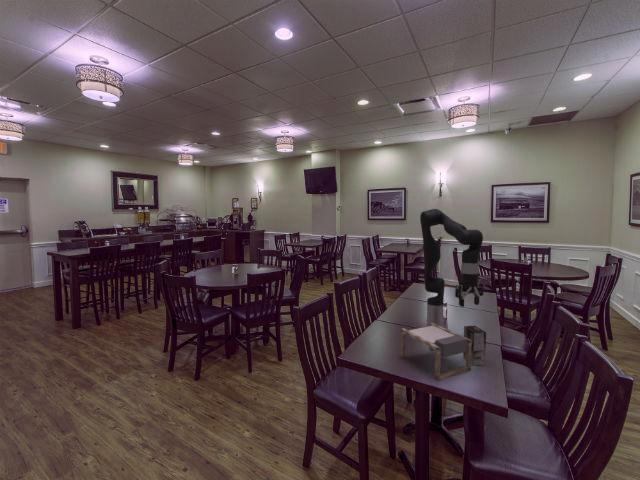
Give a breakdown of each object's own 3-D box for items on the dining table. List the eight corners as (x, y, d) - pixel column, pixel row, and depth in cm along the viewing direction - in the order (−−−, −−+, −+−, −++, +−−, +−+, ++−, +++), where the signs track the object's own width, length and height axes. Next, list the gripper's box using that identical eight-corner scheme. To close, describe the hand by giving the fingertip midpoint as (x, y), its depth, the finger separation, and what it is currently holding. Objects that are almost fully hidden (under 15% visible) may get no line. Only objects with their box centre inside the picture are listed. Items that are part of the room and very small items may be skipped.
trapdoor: (468, 351, 138) (469, 338, 137) (441, 358, 131) (442, 344, 131) (432, 333, 158) (432, 322, 157) (408, 339, 151) (408, 327, 151)
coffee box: (485, 365, 144) (487, 332, 143) (472, 365, 144) (474, 333, 142) (474, 356, 153) (475, 325, 152) (462, 356, 153) (463, 325, 151)
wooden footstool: (470, 370, 140) (471, 340, 138) (437, 380, 132) (438, 348, 130) (431, 348, 162) (432, 322, 161) (400, 356, 154) (401, 328, 153)
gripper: (475, 269, 149) (475, 302, 150) (451, 271, 145) (451, 304, 146) (488, 272, 142) (487, 306, 143) (463, 274, 138) (462, 309, 139)
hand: (469, 305), depth 145 cm, fingers open, 8 cm apart
